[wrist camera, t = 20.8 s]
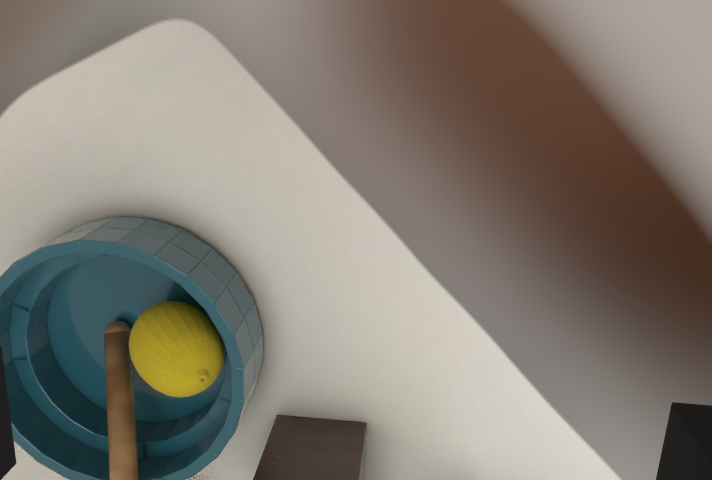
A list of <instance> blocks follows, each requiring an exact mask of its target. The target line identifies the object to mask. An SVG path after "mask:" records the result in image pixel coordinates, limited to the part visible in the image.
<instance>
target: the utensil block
mask: <svg viewBox="0 0 712 480" xmlns="http://www.w3.org/2000/svg"><path fill="white" fill-rule="evenodd" d="M366 428H367V424H366V423H361V422H349V421H338V420H326V419H314V418H303V417H291V416H280V415H277V417H276V419H275V422H274V425H273V427H272V430H271V433H270V435H269V438H268V441H267V444H266V446H265V449H264V452H263V454H262V457H261V460H260V462H259V465H258V468H257V470H256V473H255V476H254V479H253V480H364V466H365V446H366Z"/></svg>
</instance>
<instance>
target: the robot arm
mask: <svg viewBox="0 0 712 480" xmlns="http://www.w3.org/2000/svg"><path fill="white" fill-rule="evenodd" d="M15 464H16V457H15V449H14V441H13V433H12V425H11V417H10V409H9V401H8V393H7V384H6V376H5V368H4V360H3V352H2V346H0V480H1V479H2V478H3V477H4V476H5V475H6V474H7V473H8V472H9V470H10V469H11V468H12V467H13V466H14V465H15ZM656 480H712V406H709V405H696V404H685V403H672V405H671V410H670V415H669V420H668V425H667V429H666V434H665V439H664V444H663V449H662V453H661V458H660V463H659V468H658V473H657V478H656Z"/></svg>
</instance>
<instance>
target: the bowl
mask: <svg viewBox="0 0 712 480" xmlns="http://www.w3.org/2000/svg"><path fill="white" fill-rule="evenodd" d="M167 301H179V302H185V303H187V304H190V305H192V306H195V307H197V308H198V309H200V310H201V311H202V312H203V313H204V314H206V315H207V316H208V317H209V318H210V319H211V320H212V322H213V323H214V325H215V327H216V328H217V330H218V332H219V334H220V336H221V339H222V343H223V347H224V362H223V366H222V369H221V372H220V373H219V375H218V377H217V378H216V380H215V381H214V382H213V383H212V385H211V386H209V387H208V388H207V389H205V390H204V391H202V392H200V393H198V394H196V395H192V396H189V397H173V396H168V395H165V394H163V393H161V392H159V391H157V390H155V389H154V388H152V387H151V386H150V385H149V384H148V383H147V382H146V381H145V380H144V379H143V378H142V377H141V376H140V375H139V374H138V372H137V370H136V368H135V366H134V364H133V375H134V394H135V414H136V434H137V454H138V474H139V480H185V479H188V478H190V477H192V476H194V475H196V474H197V473H198V472H199V471H201V470H202V469H203V468H204V467H206V466H207V465H208V464H209V463H211V462H212V461H213V460H214V459H216V458H217V457H218V456H219V455H220V453H221V452H222V450H223V449H224V447H225V446H226V444H227V443H228V441H229V440H230V438H231V437H232V435H233V434H234V432H235V431H236V428H237V426H238V424H239V422H240V420H241V418H242V415H243V413H244V411H245V409H246V407H247V405H248V402H249V400H250V398H251V396H252V394H253V392H254V389H255V386H256V383H257V380H258V376H259V373H260V370H261V366H262V361H263V333H262V332H263V331H262V327H261V324H260V320H259V316H258V313H257V309H256V306H255V302H254V300H253V299H252V297H251V295H250V293H249V292H248V290H247V288H246V287H245V285H244V283H243V282H242V280H241V278H240V277H239V275H238V273H237V272H236V271H235V270H234V269H233V268H232V267H231V266H230V265H229V264H228V263H227V262H226V261H225V260H224V259H223V258H222V257H221V256H220V255H219V254H218V253H217V252H216V251H215V250H214V249H212V247H210V246H209V245H207V244H206V243H204V242H202V241H201V240H199V239H197V238H196V237H194V236H193V235H191V234H189V233H188V232H186V231H185V230H182V229H180V228H177V227H174V226H171V225H168V224H164V223H161V222H158V221H155V220H152V219H146V218H130V217H112V218H107V219H102V220H97V221H92V222H87V223H85V224H82V225H80V226H78V227H76V228H74V229H73V230H71V231H69V232H67V233H65V234H63V235H61V236H59V237H58V238H56V239H54V240H52V241H51V242H49V243H47V244H45V245H44V246H42V247H40V248H39V249H37V250H35V251H33V252H31V253H30V254H28V255H26V256H25V257H23V258H21V259H19V260H18V261H16V262H15V263H13V264H12V265H11V266H10V267H9V268H8V269H7V270H6V271H5V272H4V273H3V274H2V276H1V277H0V346H2V352H3V360H4V368H5V376H6V384H7V393H8V401H9V409H10V417H11V425H12V433H13V440H14V441H15V442H16V443H17V444H18V445H19V446H21V447H22V448H23V449H24V450H25V451H26V452H27V453H28V454H29V455H31V456H32V457H33V458H34V459H35V460H37V462H39V463H41V464H42V465H44V466H46V467H48V468H49V469H51V470H53V471H55V472H56V473H58V474H60V475H62V476H63V477H65V478H67V479H70V480H110V478H109V452H108V426H107V400H106V374H105V349H104V331H105V329H106V327H107V326H108V325H109V324H110V323H112V322H114V321H123V322H125V323H127V324H128V325H129V327H130V329H131V330H132V328H133V325H134V323H135V322H136V320H137V319H138V318H139V316H140V315H141V314H142V313H143V312H145V311H146V310H147V309H149V308H150V307H152V306H154V305H156V304H159V303H162V302H167Z"/></svg>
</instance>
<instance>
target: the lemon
mask: <svg viewBox="0 0 712 480" xmlns="http://www.w3.org/2000/svg"><path fill="white" fill-rule="evenodd" d="M129 350H130V357H131V360H132V362H133V364H134V366H135V368H136V370H137V372H138V374H139V375H140V376H141V377H142V378H143V379H144V380H145V381H146V382H147V383H148V384H149V385H150V386H151V387H152V388H154V389H155V390H157V391H159V392H161V393H163V394H165V395H168V396H173V397H189V396H192V395H196V394H198V393H200V392H202V391H204V390H205V389H207V388H208V387H209V386H211V385H212V383H213V382H214V381H215V380H216V378H217V377H218V375H219V373H220V372H221V369H222V366H223V362H224V347H223V343H222V339H221V336H220V334H219V332H218V330H217V328H216V327H215V325H214V323H213V322H212V320H211V319H210V318H209V317H208V316H207V315H206V314H204V313H203V312H202V311H201V310H200V309H198V308H197V307H195V306H192V305H190V304H187V303H185V302H179V301H167V302H162V303H159V304H156V305H154V306H152V307H150V308H149V309H147V310H146V311H145V312H143V313H142V314H141V315H140V316H139V318H138V319H137V320H136V322H135V323H134V325H133V328H132V330H131V333H130V338H129Z"/></svg>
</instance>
